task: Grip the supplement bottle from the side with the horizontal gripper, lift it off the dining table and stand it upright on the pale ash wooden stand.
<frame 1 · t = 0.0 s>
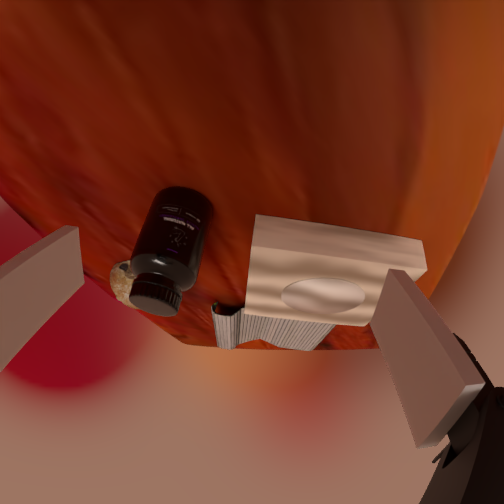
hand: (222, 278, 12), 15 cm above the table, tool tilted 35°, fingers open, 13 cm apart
mat: (273, 320, 63), on the table
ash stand: (323, 270, 41), on the table
supplement bottle: (183, 203, 33), on the table
bread roll: (143, 273, 50), on the table
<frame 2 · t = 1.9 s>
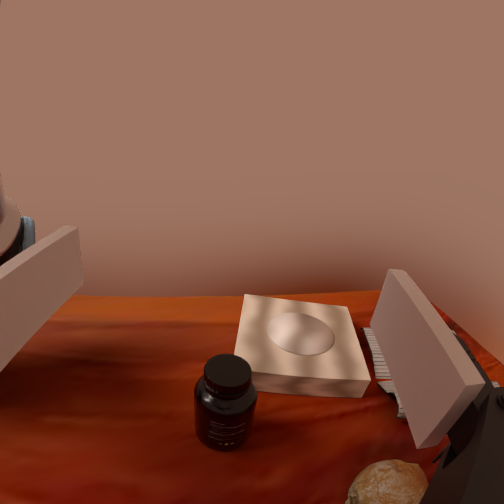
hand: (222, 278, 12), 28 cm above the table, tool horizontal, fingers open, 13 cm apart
mat: (425, 374, 46), on the table
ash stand: (295, 351, 50), on the table
supplement bottle: (221, 431, 33), on the table
bread roll: (382, 500, 24), on the table
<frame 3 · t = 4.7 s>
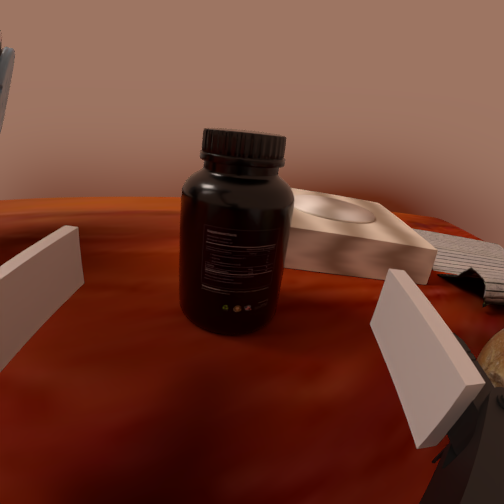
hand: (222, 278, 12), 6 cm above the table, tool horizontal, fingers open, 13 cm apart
mat: (485, 278, 34), on the table
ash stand: (325, 239, 38), on the table
supplement bottle: (226, 310, 22), on the table
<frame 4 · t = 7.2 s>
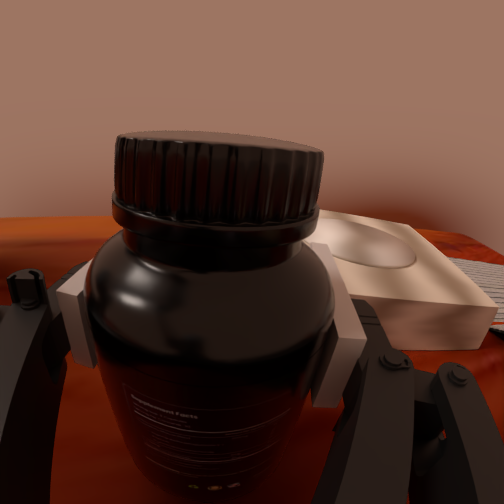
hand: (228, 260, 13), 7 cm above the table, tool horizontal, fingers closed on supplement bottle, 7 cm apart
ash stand: (347, 280, 28), on the table
supplement bottle: (204, 443, 11), on the table, touching gripper
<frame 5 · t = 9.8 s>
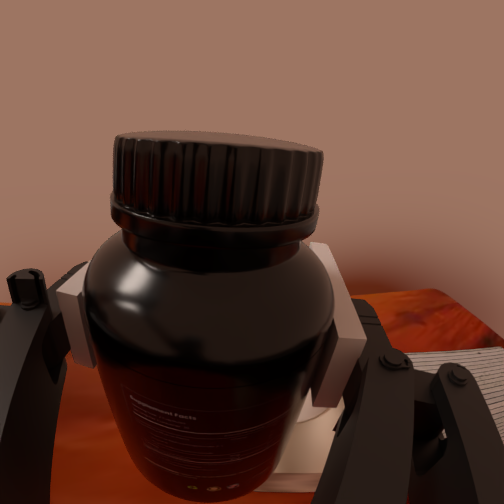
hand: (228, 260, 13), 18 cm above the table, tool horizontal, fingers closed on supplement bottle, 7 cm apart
mat: (475, 421, 24), on the table
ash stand: (271, 402, 27), on the table
supplement bottle: (203, 443, 11), point 11 cm above the table, touching gripper
when the fingers open (12 cm above the table, at t = 12.4 s): supplement bottle drops 2 cm, resting on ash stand.
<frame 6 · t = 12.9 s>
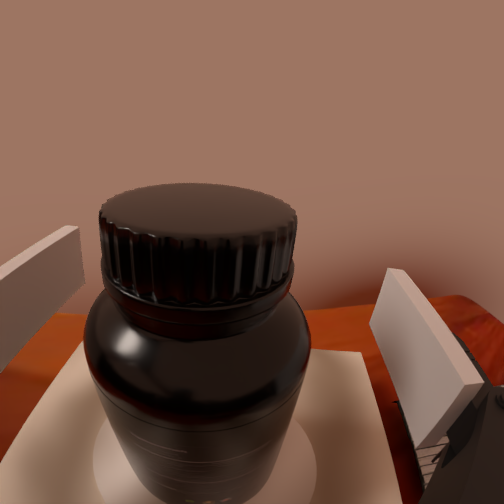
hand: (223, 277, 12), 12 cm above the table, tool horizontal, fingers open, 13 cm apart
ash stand: (204, 486, 14), on the table
supplement bottle: (201, 458, 12), point 4 cm above the table, touching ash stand
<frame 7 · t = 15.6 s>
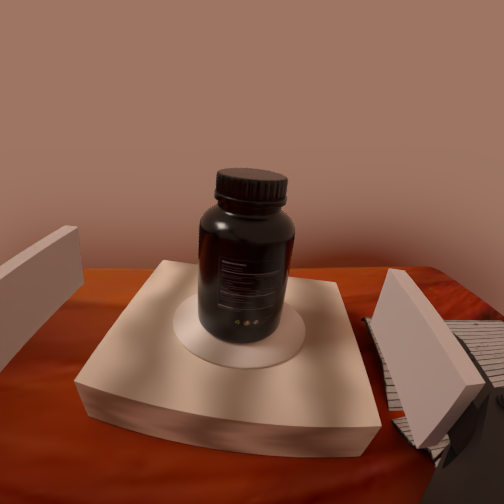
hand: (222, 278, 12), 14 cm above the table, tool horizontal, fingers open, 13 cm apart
mat: (472, 396, 23), on the table
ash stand: (235, 358, 27), on the table
supplement bottle: (238, 322, 25), point 4 cm above the table, touching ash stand
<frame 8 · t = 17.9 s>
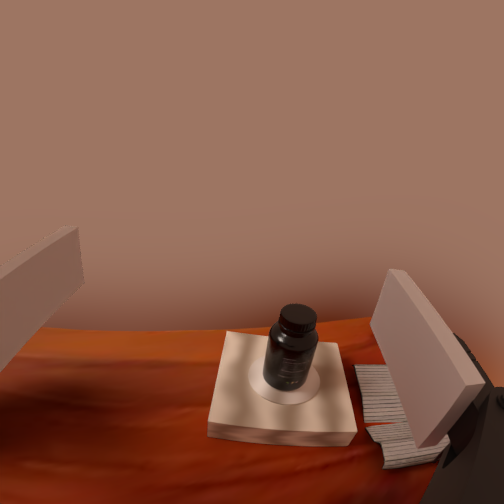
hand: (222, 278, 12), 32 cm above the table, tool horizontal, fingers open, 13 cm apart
mat: (418, 415, 41), on the table
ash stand: (279, 394, 45), on the table
supplement bottle: (283, 377, 43), point 4 cm above the table, touching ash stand
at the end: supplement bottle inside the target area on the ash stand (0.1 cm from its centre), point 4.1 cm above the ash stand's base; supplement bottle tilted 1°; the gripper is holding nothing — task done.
